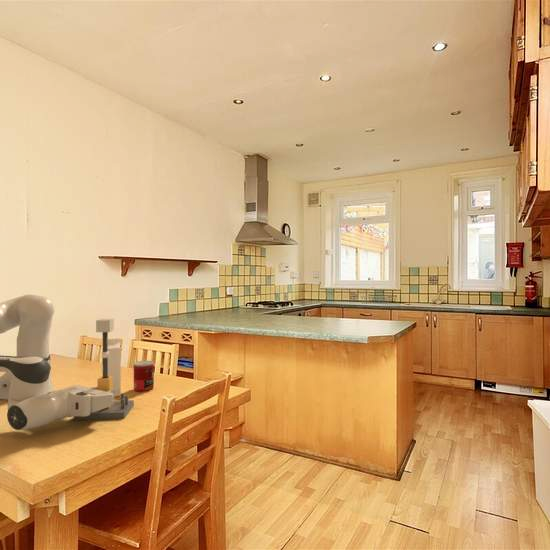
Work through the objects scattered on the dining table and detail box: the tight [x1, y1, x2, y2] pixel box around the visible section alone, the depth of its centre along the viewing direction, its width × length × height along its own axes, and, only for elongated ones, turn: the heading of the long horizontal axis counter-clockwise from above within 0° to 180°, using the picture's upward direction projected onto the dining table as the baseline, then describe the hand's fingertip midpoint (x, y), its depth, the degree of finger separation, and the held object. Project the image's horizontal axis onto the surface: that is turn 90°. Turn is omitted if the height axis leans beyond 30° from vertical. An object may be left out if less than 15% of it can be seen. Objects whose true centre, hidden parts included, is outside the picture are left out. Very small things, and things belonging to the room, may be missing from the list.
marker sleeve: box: [96, 375, 113, 408], centre depth 133 cm, size 4×4×10 cm
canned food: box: [133, 360, 155, 393], centre depth 160 cm, size 8×8×11 cm
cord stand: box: [73, 318, 135, 421], centre depth 133 cm, size 16×12×32 cm
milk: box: [101, 337, 122, 397], centre depth 152 cm, size 6×6×22 cm
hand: (107, 390), depth 134 cm, fingers closed on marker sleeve, 5 cm apart
